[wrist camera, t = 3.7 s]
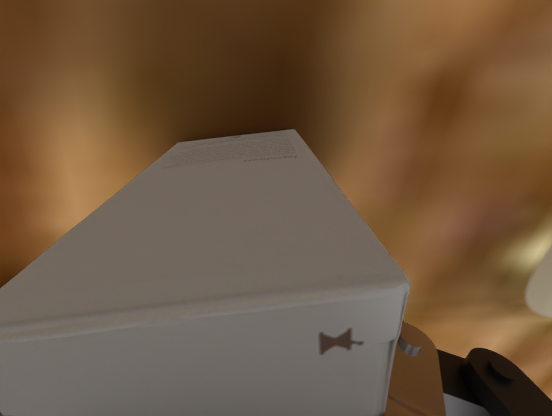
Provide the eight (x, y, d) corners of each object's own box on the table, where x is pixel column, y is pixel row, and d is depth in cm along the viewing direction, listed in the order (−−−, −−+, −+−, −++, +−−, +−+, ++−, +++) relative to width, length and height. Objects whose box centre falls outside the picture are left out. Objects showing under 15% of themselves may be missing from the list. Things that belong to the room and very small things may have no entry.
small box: (177, 139, 12) (-109, 337, 3) (297, 126, 12) (427, 274, 3) (212, 276, 16) (139, 574, 6) (306, 265, 16) (377, 544, 6)
